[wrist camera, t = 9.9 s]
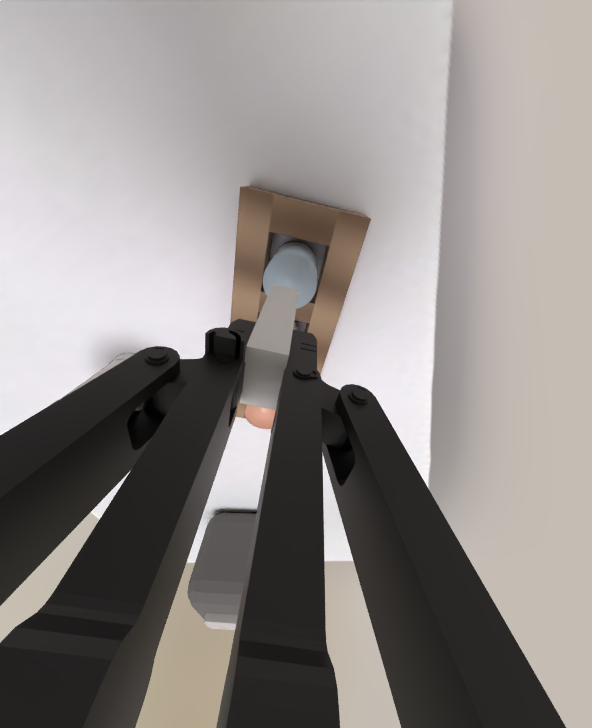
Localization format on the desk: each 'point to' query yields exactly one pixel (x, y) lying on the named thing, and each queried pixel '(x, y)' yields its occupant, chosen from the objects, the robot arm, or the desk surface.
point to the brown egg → (260, 416)
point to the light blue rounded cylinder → (293, 271)
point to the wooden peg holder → (301, 221)
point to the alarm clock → (222, 569)
